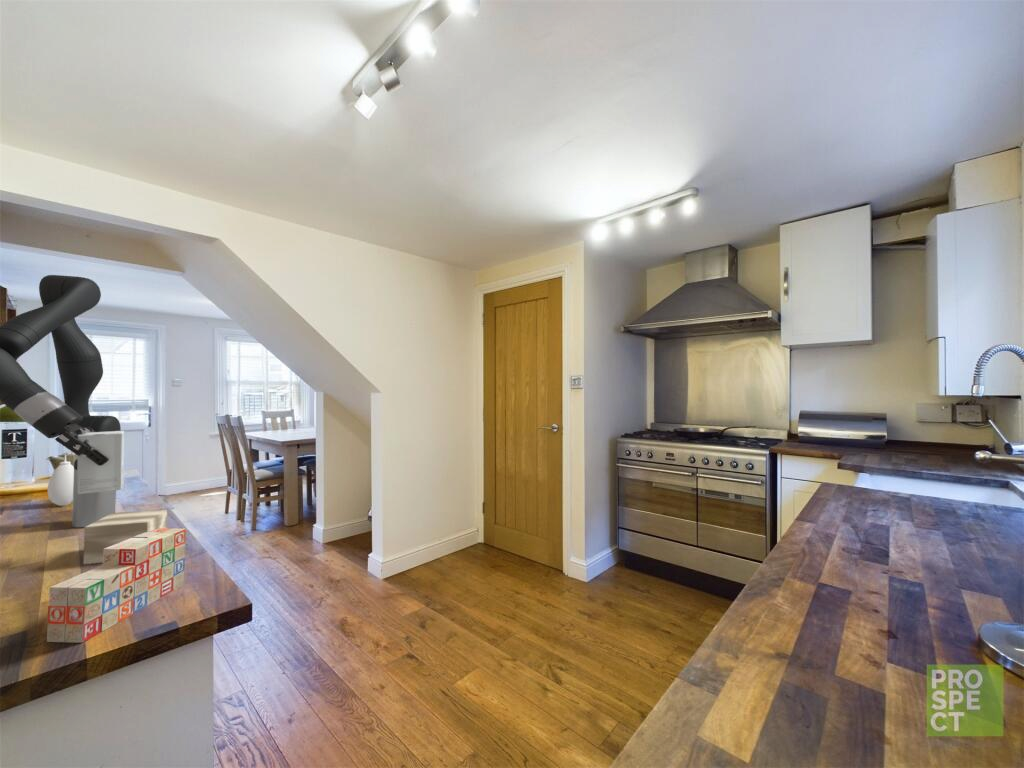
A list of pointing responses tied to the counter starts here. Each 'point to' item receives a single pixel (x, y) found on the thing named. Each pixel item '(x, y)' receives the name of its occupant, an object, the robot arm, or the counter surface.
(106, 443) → the skincare box
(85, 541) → the riser block
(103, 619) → the stack of blocks
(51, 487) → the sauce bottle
